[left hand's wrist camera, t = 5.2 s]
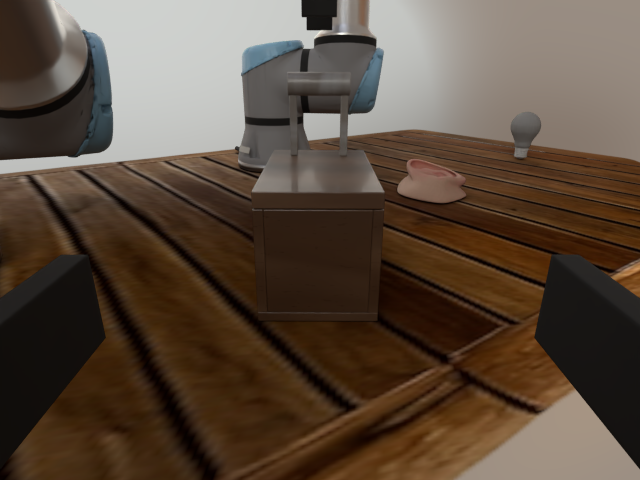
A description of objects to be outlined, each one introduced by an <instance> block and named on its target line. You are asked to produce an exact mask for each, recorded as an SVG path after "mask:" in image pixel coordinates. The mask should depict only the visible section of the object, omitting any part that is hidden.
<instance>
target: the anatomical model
mask: <svg viewBox="0 0 640 480" xmlns="http://www.w3.org/2000/svg"><path fill="white" fill-rule="evenodd" d="M407 171H408V173H409V175H408V176H407V177H405V178H404V179H403V180H402V181H401V182H400V183H399V185H398V188H397V191H398V193H399V194H401V195H403V196H406V197H409V198H413V199H417V200H422V201H427V202H434V203H449V202H453V201H456V200H459V199H462V198H464V197H465V196H466V193H465V192H464V191H463V190H462V189H461V188H460V186H461V185H463V184H464V183H465V182H466V179H465V178H464V177H463V176H461V175H459V174H457V173H456V172H454V171H452V170H450V169H447V168H445V167H442V166H439V165H436V164H433V163H430V162H426V161H423V160H418V159H411V160H409V161H408V162H407Z"/></svg>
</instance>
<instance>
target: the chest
mask: <svg viewBox="0 0 640 480" xmlns="http://www.w3.org/2000/svg"><path fill="white" fill-rule="evenodd" d="M252 216H253V233H254V251H255V269H256V287H257V305H258V321H377V317H378V301H379V285H380V268H381V252H382V236H383V220H384V209H252Z"/></svg>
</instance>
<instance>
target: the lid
mask: <svg viewBox="0 0 640 480" xmlns="http://www.w3.org/2000/svg"><path fill="white" fill-rule="evenodd" d="M350 90H351V73H350V72H288V73H287V93H288V95H289V101H290V149H291V150H274V152H273V153H272V155H271V157H270V159H269V161H268V163H267V164H266V166H265V168H264V170H263V172H262V174H261V175H260V177H259V179H258V181H257V183H256V185H255V186H254V188H253V190H252V192H251V197H252V208H253V209H384V202H385V192H384V190H383V188H382V186H381V184H380V182H379V180H378V178H377V176H376V174H375V172H374V170H373V169H372V167H371V165H370V163H369V161H368V159H367V157H366V155H365V153H364V151H363V150H347V129H348V96H350ZM297 96H341V113H340V150H298V135H297Z"/></svg>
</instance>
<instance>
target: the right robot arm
mask: <svg viewBox="0 0 640 480" xmlns="http://www.w3.org/2000/svg"><path fill="white" fill-rule="evenodd" d="M369 9H370V0H302V17H307V30H321V31H320V32H319V33H318V34H317V35H316V36H315V38H314V49H303V47H304V46H303V44H302V42H301V41H298V40H294V41H282V42H274V43H267V44H261V45H256V46H252V47H249V48H247V49H246V50H245V51H244V52H243V55H242V73H241V76H242V80H243V96H244V112H245V131H244V135H243V139H242V143H241V146H240V147H237V146H236V147H235V149H236V150H237V151H239V156H238V164H239V167H240V168H242V169H245V170H248V171H254V172H263V170H264V168H265V166H266V164H267V163H268V161H269V159H270V157H271V155H272V153H273V152H274V150H291V149H290V101H289V95H288V93H287V73H288V72H350V73H351V90H350V96H348V114H353V113H354V114H355V113H368V112H370V111H371V110H372V109H373V107H374V105H375V100H376V95H377V90H378V85H379V79H380V73H381V67H382V60H383V54H384V51H383V50H382V49H380V48H377V49H376V39H377V38H376V37H375V36H374V34H373V33H372V32H371V31H370V29H369ZM303 113H334V114H340V113H341V96H297V135H298V150H311V149H310V146H309V143H308V140H307V137H306V134H305V131H304V127H303Z"/></svg>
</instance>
